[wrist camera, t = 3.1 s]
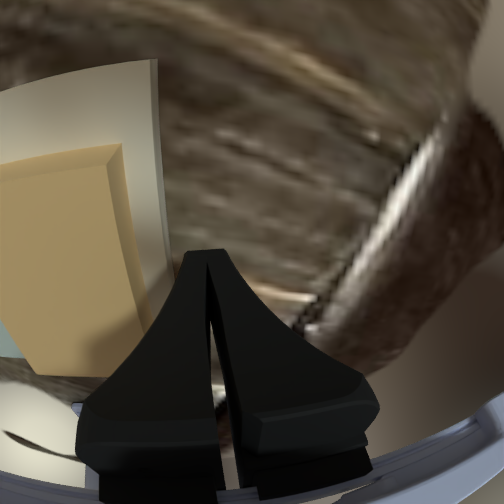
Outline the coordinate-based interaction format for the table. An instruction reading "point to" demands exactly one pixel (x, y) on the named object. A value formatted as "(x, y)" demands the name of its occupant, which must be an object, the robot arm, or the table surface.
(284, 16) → the table surface
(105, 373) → the tan rectangular block
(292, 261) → the table surface
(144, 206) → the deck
